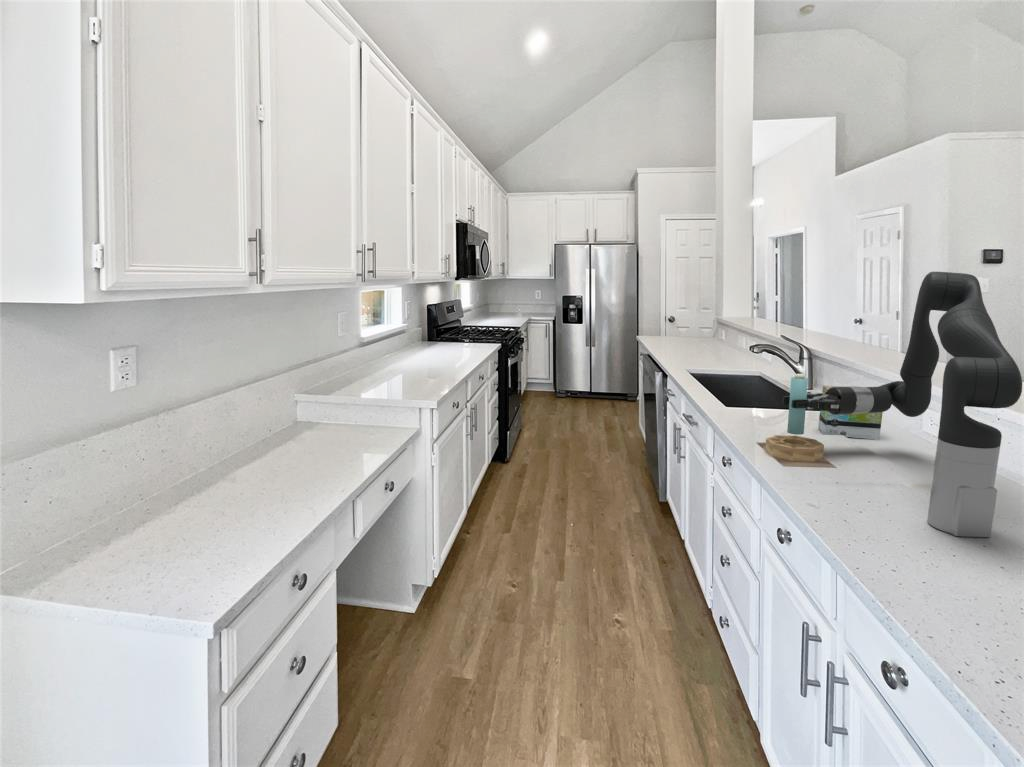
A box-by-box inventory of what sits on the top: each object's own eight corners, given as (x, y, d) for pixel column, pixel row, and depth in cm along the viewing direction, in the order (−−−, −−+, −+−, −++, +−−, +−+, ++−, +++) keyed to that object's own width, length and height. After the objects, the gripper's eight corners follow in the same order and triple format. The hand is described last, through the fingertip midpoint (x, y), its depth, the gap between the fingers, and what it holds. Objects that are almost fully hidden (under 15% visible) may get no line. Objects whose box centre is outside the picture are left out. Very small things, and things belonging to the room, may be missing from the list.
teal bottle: (806, 434, 149) (810, 375, 146) (790, 434, 149) (794, 375, 146) (800, 430, 153) (804, 373, 150) (785, 430, 153) (789, 373, 150)
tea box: (825, 437, 173) (829, 390, 171) (817, 429, 183) (821, 384, 180) (880, 440, 169) (885, 392, 166) (870, 432, 178) (874, 386, 176)
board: (836, 472, 141) (837, 467, 140) (783, 470, 142) (783, 466, 142) (801, 447, 162) (802, 443, 162) (755, 446, 164) (755, 442, 163)
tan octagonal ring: (829, 462, 145) (830, 449, 144) (777, 460, 146) (778, 448, 146) (808, 447, 158) (809, 435, 157) (760, 446, 159) (761, 434, 158)
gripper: (833, 382, 157) (774, 383, 156) (868, 391, 143) (804, 393, 142) (831, 408, 158) (772, 410, 157) (865, 420, 144) (801, 422, 143)
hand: (787, 402), depth 149 cm, fingers closed on teal bottle, 4 cm apart
